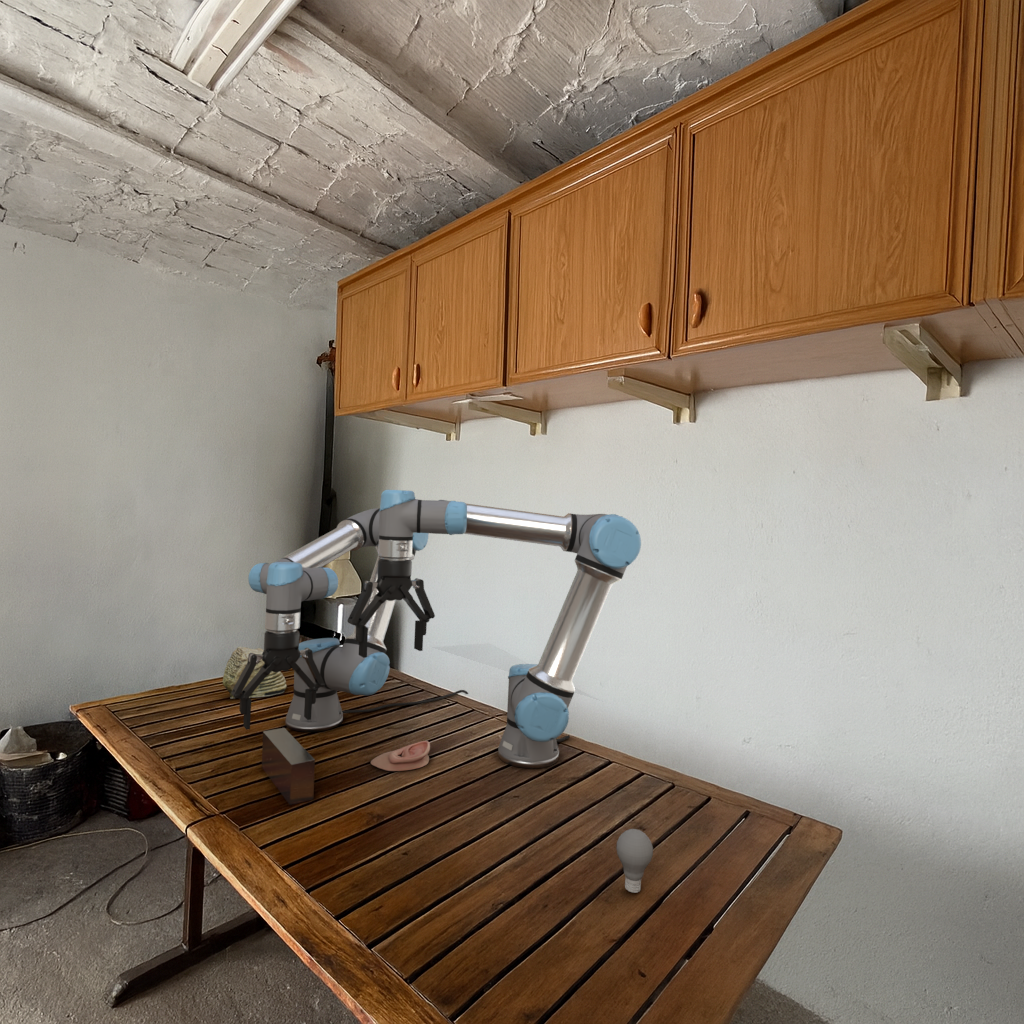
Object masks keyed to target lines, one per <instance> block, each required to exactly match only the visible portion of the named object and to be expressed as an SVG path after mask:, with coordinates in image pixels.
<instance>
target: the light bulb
mask: <svg viewBox="0 0 1024 1024" xmlns="http://www.w3.org/2000/svg"><path fill="white" fill-rule="evenodd" d="M615 849H616V854H617V857H618V859H619V861H620V863H621V865H622V867H623V873H624V874H623V875H624V876H625V878H624V888H625V890H627V891H628V892H630V893H634V894H635V893H639V892H640V891H641V889H642V887H641V886H642V879H643V877H644V875H645V871H646V868H647V867H648V866H649V864H650V863H651V861H652V859H653V855H654V847H653V843H652V841H651V838H649V836H648V835H647V834H646V833H645V832H643V831H642V830H641V829H636V828H629V829H627V830H625V831H623V832H622V833H621V834H620V835H619V837H618V839H617V841H616V847H615Z"/></svg>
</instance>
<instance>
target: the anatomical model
mask: <svg viewBox="0 0 1024 1024" xmlns="http://www.w3.org/2000/svg"><path fill="white" fill-rule="evenodd" d="M430 751H431V743H430V742H429V741H428V740H423V741H417V742H415V743H412V744H408V745H405V746H403V747H399V748H398V749H394V750H391V751H387V752H384V753H381V754H380V755H377V756H376V757H374V758H373V759H371V761H370V764H371V765H372V766H373V767H375V768H378V769H380V770H383V771H387V772H400V771H401V772H402V771H411V770H415V769H421V768H423V767H425V766H427V765H428V764H429V761H430V757H429V755H428V754H429V753H430Z"/></svg>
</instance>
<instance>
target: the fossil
mask: <svg viewBox="0 0 1024 1024" xmlns="http://www.w3.org/2000/svg"><path fill="white" fill-rule="evenodd" d="M263 651H264V648H260V647H258V648H251V647H247V646H246V647H245V646H238V647H237V648H236V649H235V650H233V651H232V653H231V656H230V657H229V659H228V660H227V663H226V666H225V668H224V671H223V675H222V676H223V677H222V685H223V687H224V688H225V690H226V691H228V693H229V698H230V699H235V698H234V697H233V696H232V694H231V692H232V690H233V688H234V686H235V684H236V683H237V681H238V679H239V677H240V675H241V673H242V672H243V670H244V668H245V666H246V664H247V662H248V656H249V654H250V653H254V654H262V653H263ZM263 665H264V662H263V660H260V661H259V663H258V664H256V666H255V668H254V670H253V672H252V674H251V676H250V677H249V679H248V681H247V683H246V685H245V687H246V686H247V685H248V684H249V682H250V681H251V680H252V679H253V678H254V676H255V675H256V674H257V673H258V672H259V671H260V668H261V667H262V666H263ZM245 687H244V688H245ZM287 687H288V686H287V680H286V678H285V676H284V674H283V673H282V671H280V672H273V671H271V673H270V674H269V675H267V676H266V677H265V678H264V680H263V681H262V682H261V683H260V684H259V686H258V687H257V688H256V689H255V690H254V692H253V693H252V694H251V695H250V696H249V698H250V699H251V698H264V697H271V696H275V695H281V694H284V693H285V691H286V689H287ZM242 691H243V690H242Z"/></svg>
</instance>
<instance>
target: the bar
mask: <svg viewBox="0 0 1024 1024" xmlns="http://www.w3.org/2000/svg"><path fill="white" fill-rule="evenodd" d="M261 747H262V748H261V749H262V750H261V751H262V752H261V753H262V754H261V768H262V770H263V771H264V773H265V774H266V775H267V777H268V778H269V779H270V781H271V782H272V783H273V785H274V786H275V787H276V789H277V790H278V791H279V792H280V794H281V795H282V797H283V799H285V801H286V802H287V804H288V805H289V806H291V805H292V806H293V805H296V804H300V803H303V802H305V803H306V802H308V801H312V800H314V796H315V795H314V793H315V792H314V791H315V768H316V765H315V764H316V759H315V758H314V757H313V756H312V755H311V754H310V753H309V752H308V751H307V750H306V748H304V747H303V745H302V744H301V743H300V742H299V741H298V740H297V739H296V738H295V737H294V736H293V735H292V734H291V733H290V732H289V731H288V729H286V728H285V727H282V728H281V727H280V728H275V729H269V730H264V731H263V730H262V746H261Z"/></svg>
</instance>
